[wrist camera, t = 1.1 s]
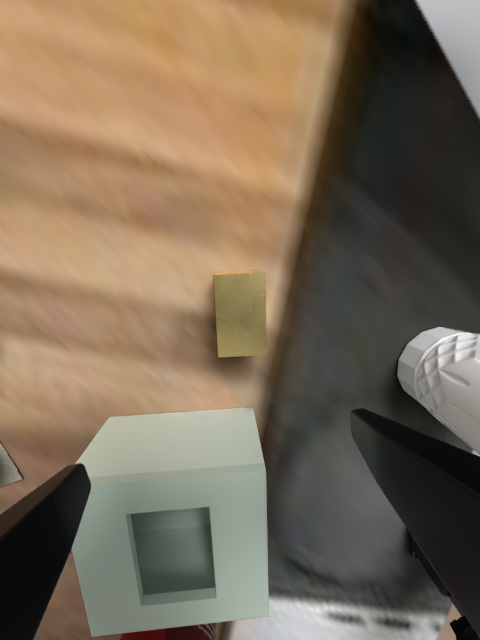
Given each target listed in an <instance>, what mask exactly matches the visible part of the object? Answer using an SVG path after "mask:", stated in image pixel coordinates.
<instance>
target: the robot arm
mask: <svg viewBox="0 0 480 640" xmlns="http://www.w3.org/2000/svg"><path fill="white" fill-rule="evenodd" d="M350 420H351V432H352V436H353V439H354V441H355V442H356V444H357V446H358V448H359V450H360V452H361V454H362V456H363V457H364V459H365V461H366V463H367V465H368V467H369V469H370V471H371V473H372V474H373V476H374V478H375V480H376V482H377V483H378V485H379V486H380V488H381V490H382V491H383V493H384V494H385V496H386V497H387V499H388V500H389V502H390V503H391V505H392V506H393V508H394V509H395V511H396V512H397V514H398V515H399V517H400V518H401V520H402V521H403V523H404V524H405V526H406V527H407V529H408V530H409V532H410V533H411V535H412V538H411V545H410V555H411V557H412V558H413V559H414V560H419V561H420V562H421V564H422V565H423V567H424V568H425V570H426V571H427V573H428V574H429V576H430V577H431V579H432V580H433V582H434V583H435V585H436V586H437V588H438V589H439V591H440V592H441V594H442V595H443V596H444V597H449V598H450V600H451V601H452V603H453V604H454V606H455V607H456V608H457V610H458V612H459V613H460V614H461V616H462V617H460V618H459V619H458V620H453V621H452V622H451V623H450V625H451V627H452V629H453V631H454V633H455V635H456V639H457V640H480V457H479V456H477V455H475V454H472V453H470V452H467V451H465V450H462V449H460V448H458V447H455V446H453V445H450V444H448V443H446V442H443V441H441V440H438V439H436V438H433V437H431V436H429V435H426V434H424V433H421V432H419V431H417V430H414V429H412V428H409V427H407V426H404V425H402V424H400V423H397V422H395V421H392V420H390V419H387V418H385V417H383V416H380V415H378V414H375V413H373V412H371V411H368V410H366V409H363V408H361V409H356V410H352V411H351V412H350ZM90 491H91V482H90V479H89V476H88V474H87V471H86V468H85V466H84V464H82V463H78V464H72V465H69V466H67V467H65V468H64V469H63V470H61V471H60V472H59V473H57V474H56V475H54V476H53V477H52V478H50V479H49V480H47V481H46V482H45V483H43V484H42V485H41V486H39V487H38V488H36V489H35V490H34V491H32V492H31V493H30V494H28V495H27V496H25V497H24V498H23V499H21V500H20V501H19V502H17V503H16V504H14V505H13V506H12V507H10V508H9V509H7V510H6V511H5V512H3V513H2V514H1V515H0V640H33V639H34V637H35V635H36V632H37V630H38V627H39V625H40V623H41V620H42V618H43V615H44V613H45V611H46V608H47V606H48V604H49V601H50V599H51V596H52V594H53V592H54V589H55V587H56V584H57V582H58V580H59V577H60V575H61V573H62V570H63V568H64V565H65V563H66V561H67V558H68V556H69V553H70V551H71V548H72V546H73V543H74V540H75V537H76V535H77V532H78V528H79V525H80V522H81V519H82V516H83V513H84V510H85V507H86V504H87V501H88V498H89V495H90Z"/></svg>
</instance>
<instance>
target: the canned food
mask: <svg viewBox="0 0 480 640" xmlns="http://www.w3.org/2000/svg"><path fill="white" fill-rule="evenodd" d="M120 640H215V623H208V624H199V625H190V626H182V627H173V628H164V629H155V630H147V631H138V632H129V633H122V635H121V638H120Z"/></svg>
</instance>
